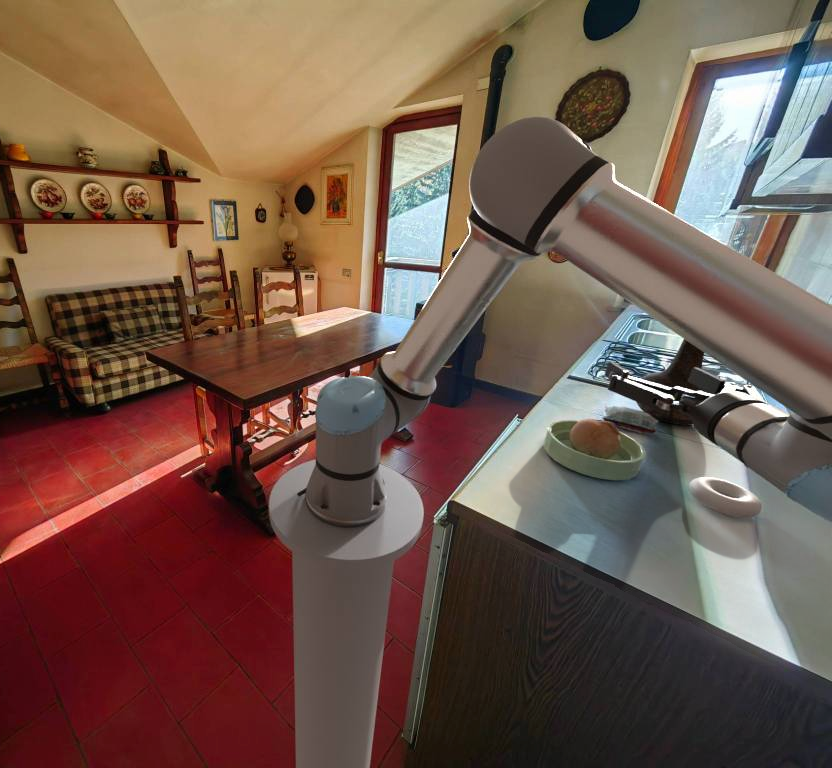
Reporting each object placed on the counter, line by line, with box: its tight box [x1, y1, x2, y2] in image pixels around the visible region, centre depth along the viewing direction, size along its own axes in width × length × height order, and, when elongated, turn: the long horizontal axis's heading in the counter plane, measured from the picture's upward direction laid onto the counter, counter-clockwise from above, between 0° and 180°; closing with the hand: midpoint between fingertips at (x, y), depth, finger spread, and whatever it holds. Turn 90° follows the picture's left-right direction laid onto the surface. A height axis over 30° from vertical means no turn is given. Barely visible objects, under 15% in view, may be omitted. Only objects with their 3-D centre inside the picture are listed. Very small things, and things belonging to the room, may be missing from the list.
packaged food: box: [602, 405, 659, 435], centre depth 102 cm, size 9×12×5 cm
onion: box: [569, 418, 621, 460], centre depth 87 cm, size 10×9×10 cm
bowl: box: [543, 419, 646, 481], centre depth 88 cm, size 18×18×5 cm
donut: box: [688, 476, 762, 519], centre depth 74 cm, size 10×4×10 cm
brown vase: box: [635, 338, 710, 426], centre depth 103 cm, size 18×18×28 cm
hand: (649, 371), depth 71 cm, fingers open, 13 cm apart
